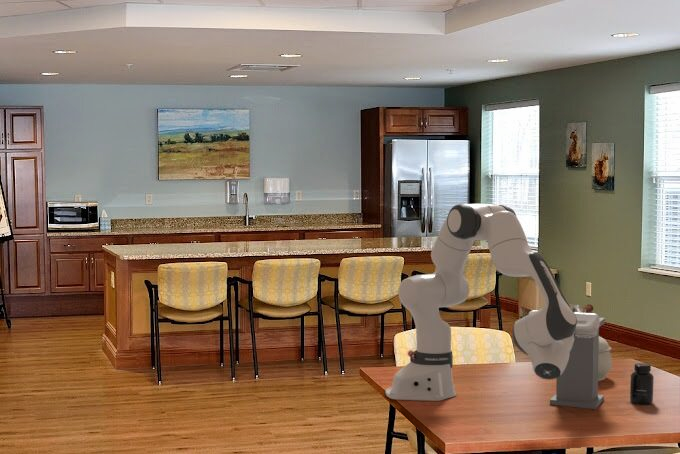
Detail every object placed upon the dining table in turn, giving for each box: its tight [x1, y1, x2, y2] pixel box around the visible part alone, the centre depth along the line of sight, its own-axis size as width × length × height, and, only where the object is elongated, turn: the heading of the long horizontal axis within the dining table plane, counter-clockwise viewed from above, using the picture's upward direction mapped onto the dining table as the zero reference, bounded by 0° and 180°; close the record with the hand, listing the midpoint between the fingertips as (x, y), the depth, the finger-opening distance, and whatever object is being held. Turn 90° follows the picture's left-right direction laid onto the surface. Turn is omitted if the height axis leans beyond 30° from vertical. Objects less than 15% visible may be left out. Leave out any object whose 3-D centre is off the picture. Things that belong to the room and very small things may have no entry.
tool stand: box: [549, 317, 606, 410], centre depth 305 cm, size 13×14×26 cm
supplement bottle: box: [629, 362, 655, 406], centre depth 306 cm, size 7×7×12 cm
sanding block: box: [568, 303, 586, 313], centre depth 296 cm, size 21×4×3 cm, turn 155°
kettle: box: [582, 304, 613, 382], centre depth 343 cm, size 25×18×25 cm
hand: (567, 306), depth 289 cm, fingers closed on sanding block, 4 cm apart
